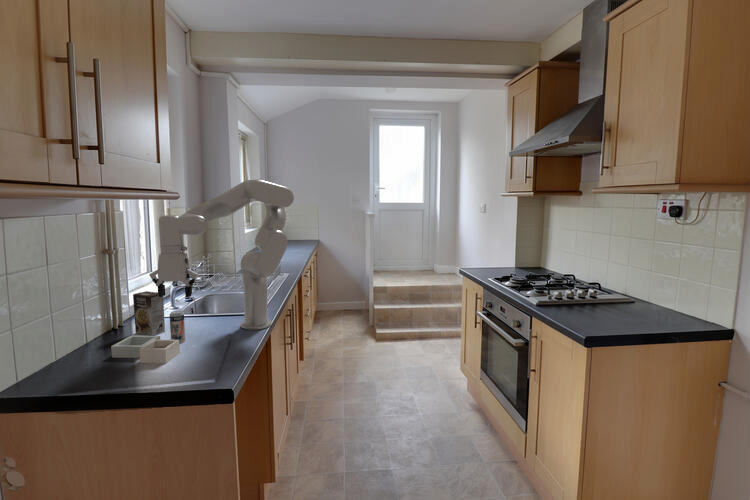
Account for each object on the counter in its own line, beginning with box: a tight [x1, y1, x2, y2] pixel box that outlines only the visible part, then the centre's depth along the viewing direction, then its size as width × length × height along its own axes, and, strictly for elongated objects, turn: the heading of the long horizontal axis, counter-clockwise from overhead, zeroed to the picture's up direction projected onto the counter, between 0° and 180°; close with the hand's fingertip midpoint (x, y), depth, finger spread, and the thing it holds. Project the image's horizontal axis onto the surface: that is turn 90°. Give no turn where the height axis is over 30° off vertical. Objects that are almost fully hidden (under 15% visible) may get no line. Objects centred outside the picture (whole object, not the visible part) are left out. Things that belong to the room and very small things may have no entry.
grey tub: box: [110, 334, 161, 359], centre depth 134 cm, size 10×10×5 cm
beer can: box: [169, 310, 186, 345], centre depth 143 cm, size 5×5×12 cm
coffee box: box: [132, 290, 166, 336], centre depth 154 cm, size 9×6×16 cm
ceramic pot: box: [139, 339, 181, 364], centre depth 129 cm, size 8×8×6 cm
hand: (175, 296), depth 141 cm, fingers open, 9 cm apart
